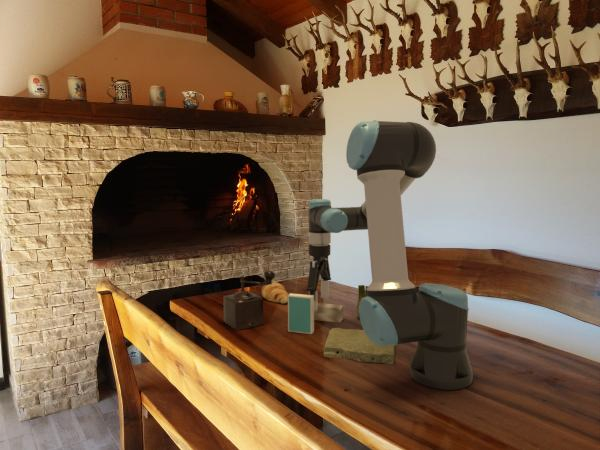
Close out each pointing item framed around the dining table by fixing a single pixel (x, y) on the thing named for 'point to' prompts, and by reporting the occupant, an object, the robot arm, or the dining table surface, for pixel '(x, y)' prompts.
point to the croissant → (275, 293)
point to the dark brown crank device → (245, 305)
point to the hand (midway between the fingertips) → (319, 303)
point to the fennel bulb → (361, 295)
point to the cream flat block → (301, 313)
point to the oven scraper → (329, 312)
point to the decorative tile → (356, 347)
